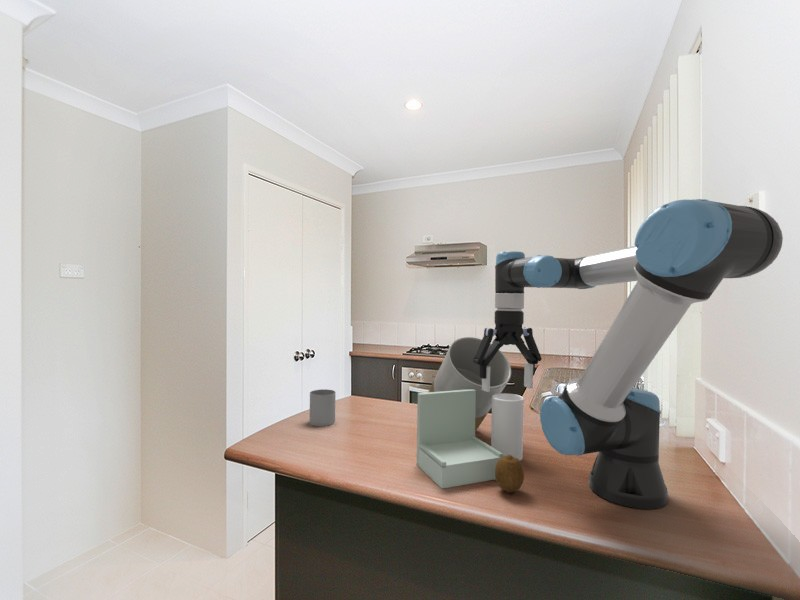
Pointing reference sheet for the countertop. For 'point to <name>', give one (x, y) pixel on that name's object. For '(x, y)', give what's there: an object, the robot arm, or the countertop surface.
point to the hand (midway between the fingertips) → (507, 389)
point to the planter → (471, 374)
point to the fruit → (509, 473)
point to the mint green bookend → (452, 440)
